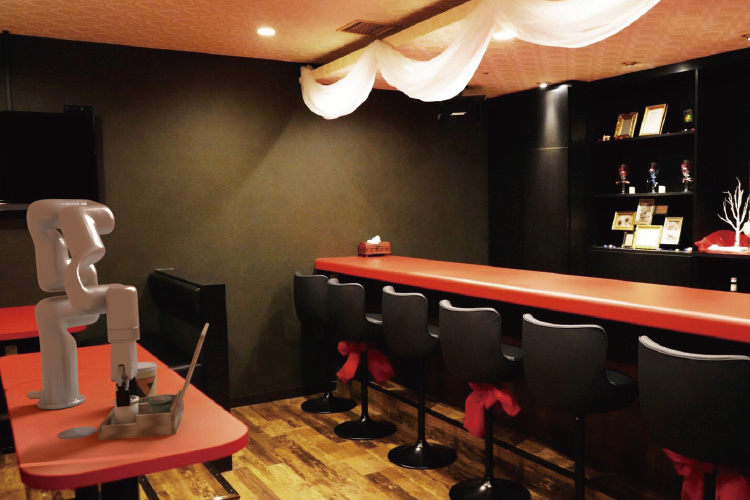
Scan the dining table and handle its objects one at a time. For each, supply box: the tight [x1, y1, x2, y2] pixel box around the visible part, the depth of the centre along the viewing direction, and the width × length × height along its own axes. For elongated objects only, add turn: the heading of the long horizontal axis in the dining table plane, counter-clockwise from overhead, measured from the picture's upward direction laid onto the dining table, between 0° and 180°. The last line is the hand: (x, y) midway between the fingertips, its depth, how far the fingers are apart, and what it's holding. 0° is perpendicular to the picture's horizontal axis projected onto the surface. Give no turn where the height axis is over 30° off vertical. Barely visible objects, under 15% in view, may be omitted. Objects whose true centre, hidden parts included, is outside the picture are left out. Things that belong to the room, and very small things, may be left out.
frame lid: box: [176, 322, 210, 409], centre depth 164 cm, size 19×18×1 cm
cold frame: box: [97, 389, 185, 441], centre depth 162 cm, size 18×18×7 cm
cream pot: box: [112, 396, 139, 425], centre depth 161 cm, size 6×6×7 cm
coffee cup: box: [134, 361, 158, 403], centre depth 181 cm, size 9×9×12 cm
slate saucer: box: [56, 426, 98, 440], centre depth 158 cm, size 9×9×1 cm
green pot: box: [148, 396, 172, 414], centre depth 164 cm, size 6×6×6 cm
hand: (127, 401), depth 161 cm, fingers open, 9 cm apart
